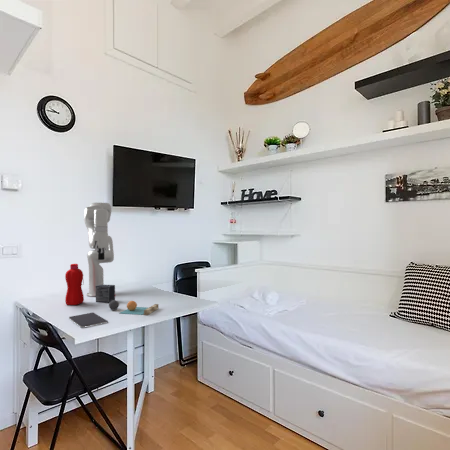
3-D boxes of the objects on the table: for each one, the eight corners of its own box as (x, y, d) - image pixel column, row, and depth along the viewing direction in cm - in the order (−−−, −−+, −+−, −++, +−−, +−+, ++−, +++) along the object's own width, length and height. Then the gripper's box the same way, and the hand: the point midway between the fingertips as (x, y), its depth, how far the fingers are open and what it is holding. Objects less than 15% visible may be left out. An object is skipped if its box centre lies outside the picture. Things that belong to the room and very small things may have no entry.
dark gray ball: (118, 297, 188) (122, 306, 188) (111, 300, 190) (115, 309, 189) (112, 300, 183) (116, 309, 183) (105, 303, 184) (109, 312, 184)
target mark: (132, 306, 192) (132, 306, 192) (153, 308, 189) (153, 307, 189) (119, 313, 178) (119, 313, 178) (142, 314, 175) (142, 314, 175)
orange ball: (132, 298, 187) (140, 303, 186) (128, 305, 188) (135, 311, 187) (127, 300, 182) (135, 305, 181) (123, 308, 182) (131, 313, 181)
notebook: (107, 323, 162) (93, 315, 178) (107, 320, 162) (93, 312, 178) (81, 329, 153) (68, 319, 169) (81, 326, 153) (68, 316, 169)
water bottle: (78, 306, 195) (78, 265, 195) (63, 305, 197) (62, 264, 197) (88, 302, 204) (87, 263, 204) (73, 301, 206) (72, 262, 206)
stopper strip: (155, 308, 188) (155, 304, 188) (158, 308, 188) (158, 304, 188) (143, 315, 175) (143, 310, 175) (147, 315, 174) (147, 310, 174)
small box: (115, 300, 208) (115, 284, 208) (109, 303, 201) (109, 286, 201) (101, 299, 211) (101, 284, 211) (95, 302, 204) (95, 285, 204)
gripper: (102, 229, 203) (103, 257, 203) (87, 229, 188) (88, 261, 189) (113, 229, 201) (113, 258, 202) (98, 230, 187) (99, 261, 187)
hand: (101, 259), depth 195 cm, fingers closed
